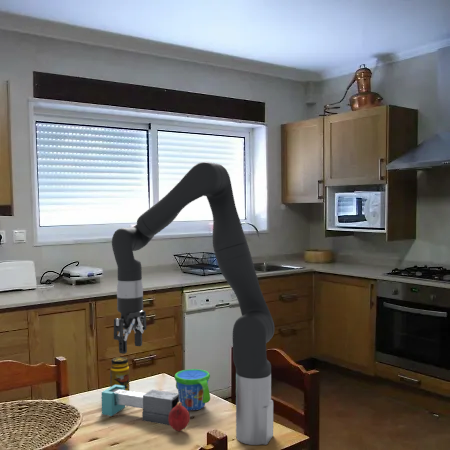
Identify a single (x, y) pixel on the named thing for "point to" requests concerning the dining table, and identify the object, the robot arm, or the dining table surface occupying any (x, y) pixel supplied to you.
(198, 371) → the snack cup
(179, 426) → the onion
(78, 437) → the dining table surface
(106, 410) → the socket
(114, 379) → the condiment
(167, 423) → the sleeve
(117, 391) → the slip tube
